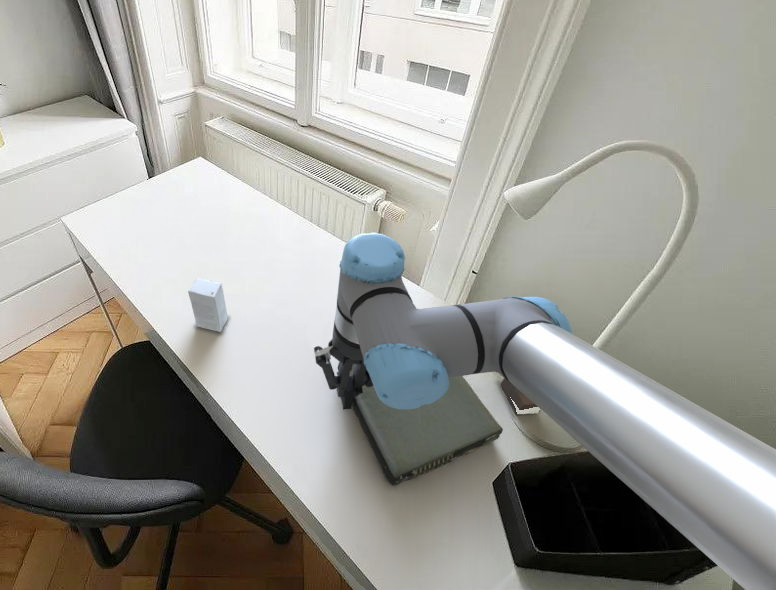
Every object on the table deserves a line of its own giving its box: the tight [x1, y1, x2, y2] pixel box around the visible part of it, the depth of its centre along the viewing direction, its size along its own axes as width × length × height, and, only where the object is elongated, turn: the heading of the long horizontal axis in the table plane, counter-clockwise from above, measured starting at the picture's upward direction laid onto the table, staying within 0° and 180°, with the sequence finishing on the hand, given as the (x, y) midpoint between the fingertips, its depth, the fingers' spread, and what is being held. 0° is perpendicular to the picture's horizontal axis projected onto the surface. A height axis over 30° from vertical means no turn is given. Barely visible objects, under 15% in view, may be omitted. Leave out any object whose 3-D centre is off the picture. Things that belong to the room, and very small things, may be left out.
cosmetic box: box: [187, 277, 229, 333], centre depth 88 cm, size 6×4×12 cm
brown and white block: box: [500, 377, 538, 416], centre depth 75 cm, size 6×4×4 cm, turn 3°
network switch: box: [337, 363, 504, 486], centre depth 74 cm, size 23×23×5 cm
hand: (345, 401), depth 74 cm, fingers closed
